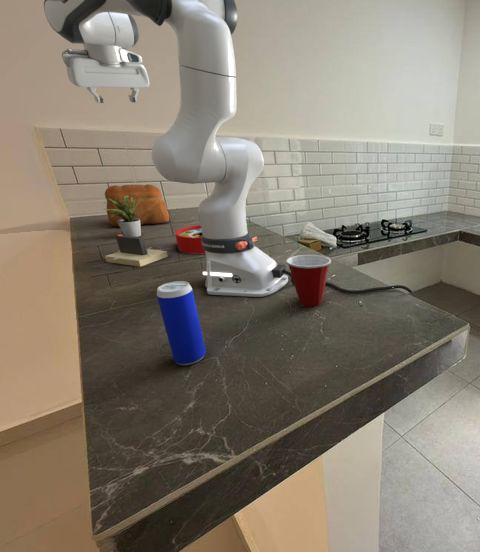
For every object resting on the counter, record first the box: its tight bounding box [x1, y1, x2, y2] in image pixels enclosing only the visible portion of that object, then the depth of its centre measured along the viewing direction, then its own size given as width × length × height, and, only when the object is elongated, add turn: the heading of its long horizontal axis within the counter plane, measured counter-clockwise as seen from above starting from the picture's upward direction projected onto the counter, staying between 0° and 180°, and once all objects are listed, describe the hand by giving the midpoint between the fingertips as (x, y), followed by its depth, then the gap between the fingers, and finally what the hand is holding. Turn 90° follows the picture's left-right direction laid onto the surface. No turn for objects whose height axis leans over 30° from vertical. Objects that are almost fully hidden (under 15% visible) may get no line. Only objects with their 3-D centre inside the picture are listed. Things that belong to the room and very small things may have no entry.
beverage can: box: [156, 280, 207, 366], centre depth 58 cm, size 5×5×15 cm
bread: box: [104, 183, 170, 228], centre depth 145 cm, size 18×22×17 cm
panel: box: [104, 246, 169, 267], centre depth 106 cm, size 14×13×2 cm
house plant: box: [102, 195, 146, 237], centre depth 127 cm, size 14×14×16 cm
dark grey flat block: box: [115, 233, 148, 255], centre depth 105 cm, size 9×2×6 cm, turn 78°
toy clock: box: [174, 224, 206, 255], centre depth 122 cm, size 20×6×20 cm
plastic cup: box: [286, 254, 332, 308], centre depth 82 cm, size 11×11×12 cm
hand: (117, 102), depth 105 cm, fingers open, 8 cm apart
